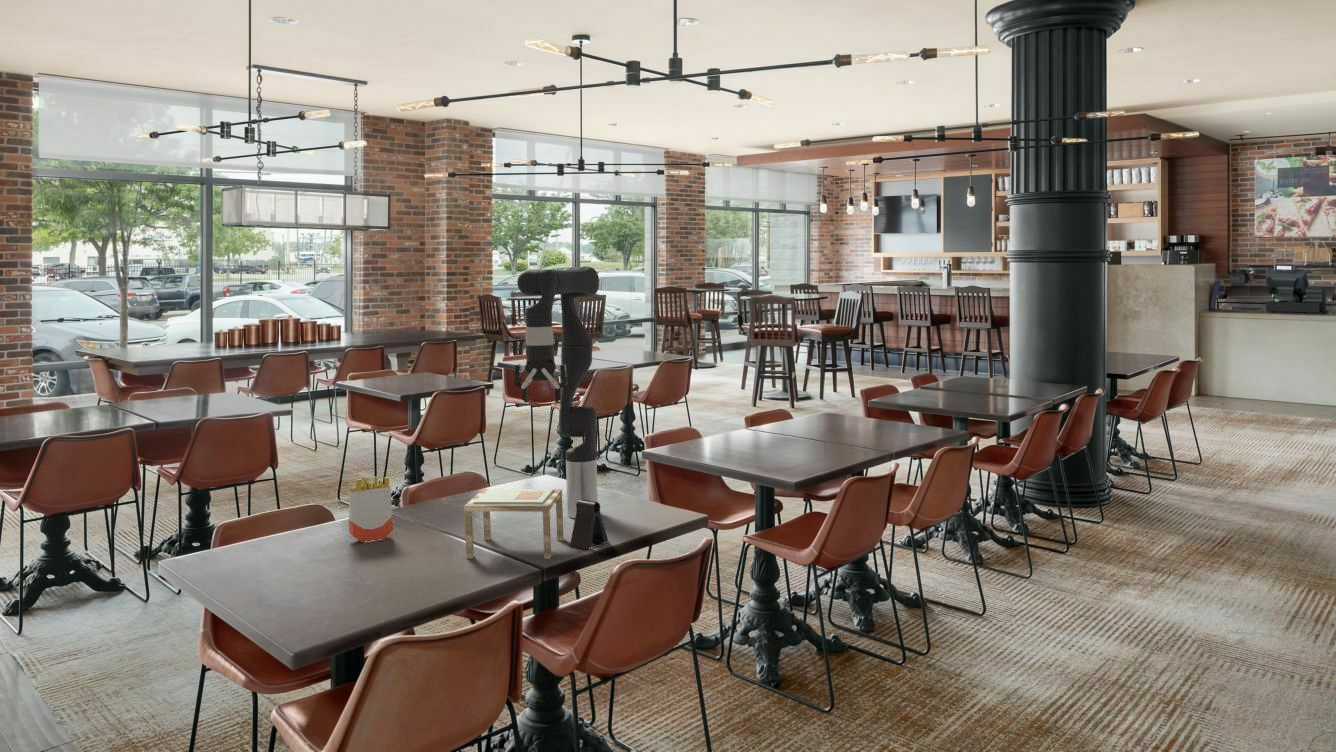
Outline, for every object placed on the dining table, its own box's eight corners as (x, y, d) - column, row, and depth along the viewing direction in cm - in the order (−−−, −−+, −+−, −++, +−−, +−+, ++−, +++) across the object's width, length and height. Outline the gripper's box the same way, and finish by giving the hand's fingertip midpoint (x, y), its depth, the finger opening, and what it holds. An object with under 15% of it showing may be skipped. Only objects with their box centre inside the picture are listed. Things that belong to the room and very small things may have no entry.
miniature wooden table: (485, 538, 263) (483, 489, 261) (563, 538, 261) (562, 489, 259) (466, 558, 245) (464, 505, 243) (550, 558, 243) (548, 505, 241)
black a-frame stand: (586, 550, 250) (585, 506, 248) (569, 546, 253) (568, 503, 252) (608, 542, 257) (607, 499, 256) (591, 538, 260) (590, 496, 259)
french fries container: (349, 541, 263) (346, 477, 260) (389, 534, 268) (385, 472, 266) (353, 545, 259) (349, 480, 257) (393, 538, 264) (389, 475, 262)
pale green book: (489, 495, 259) (488, 488, 259) (553, 495, 258) (553, 488, 257) (474, 509, 245) (473, 501, 245) (542, 509, 243) (541, 501, 243)
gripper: (510, 344, 253) (512, 404, 255) (562, 344, 252) (564, 404, 253) (517, 342, 260) (519, 400, 262) (568, 341, 259) (570, 400, 261)
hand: (541, 402), depth 258 cm, fingers open, 8 cm apart
